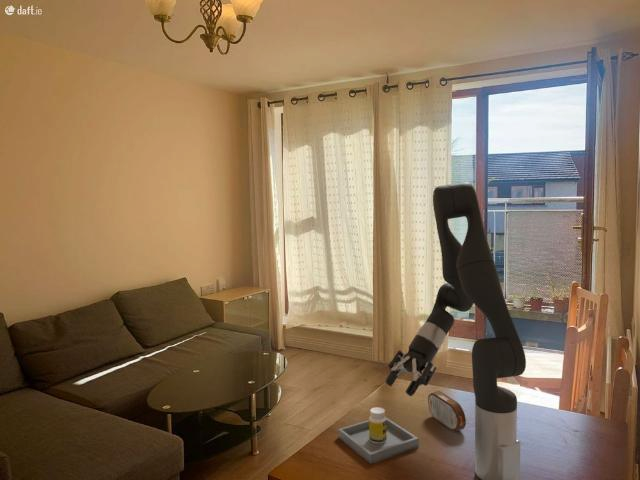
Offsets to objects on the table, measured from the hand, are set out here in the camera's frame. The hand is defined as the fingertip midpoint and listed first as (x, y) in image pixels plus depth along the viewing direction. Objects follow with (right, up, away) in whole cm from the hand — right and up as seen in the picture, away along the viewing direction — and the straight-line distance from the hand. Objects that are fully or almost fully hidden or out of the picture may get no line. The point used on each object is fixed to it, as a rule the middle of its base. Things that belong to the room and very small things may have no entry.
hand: (397, 389), depth 132 cm
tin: (+15, -13, +7) cm, 21 cm away
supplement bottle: (-6, -13, -2) cm, 15 cm away
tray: (-6, -14, -3) cm, 15 cm away
